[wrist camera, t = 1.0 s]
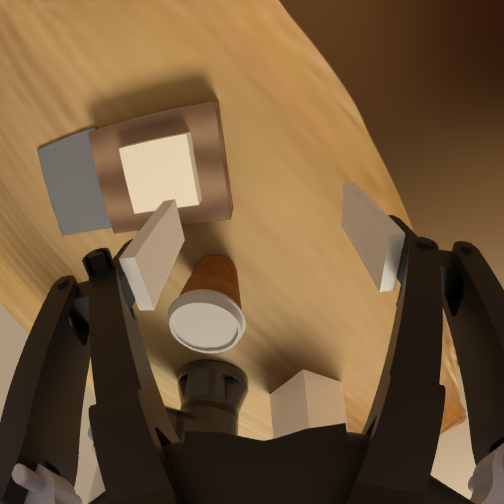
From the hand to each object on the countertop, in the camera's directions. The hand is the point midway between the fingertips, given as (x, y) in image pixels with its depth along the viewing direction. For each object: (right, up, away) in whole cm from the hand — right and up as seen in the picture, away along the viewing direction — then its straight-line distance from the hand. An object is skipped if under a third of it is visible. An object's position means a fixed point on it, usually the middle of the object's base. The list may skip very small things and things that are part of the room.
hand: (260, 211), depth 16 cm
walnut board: (-12, +9, +18) cm, 23 cm away
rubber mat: (-27, +8, +19) cm, 33 cm away
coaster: (-11, +7, +14) cm, 19 cm away
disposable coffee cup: (-6, -5, +26) cm, 27 cm away
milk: (+12, -33, +42) cm, 55 cm away
